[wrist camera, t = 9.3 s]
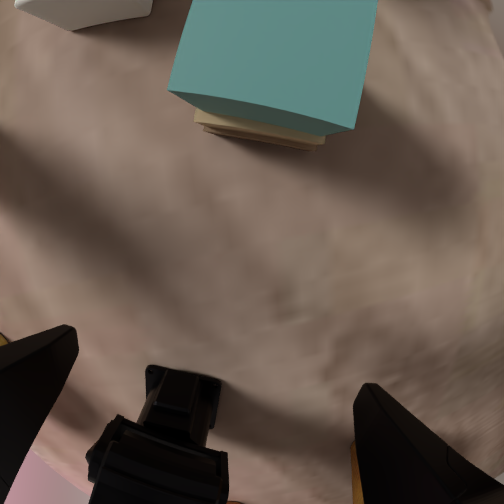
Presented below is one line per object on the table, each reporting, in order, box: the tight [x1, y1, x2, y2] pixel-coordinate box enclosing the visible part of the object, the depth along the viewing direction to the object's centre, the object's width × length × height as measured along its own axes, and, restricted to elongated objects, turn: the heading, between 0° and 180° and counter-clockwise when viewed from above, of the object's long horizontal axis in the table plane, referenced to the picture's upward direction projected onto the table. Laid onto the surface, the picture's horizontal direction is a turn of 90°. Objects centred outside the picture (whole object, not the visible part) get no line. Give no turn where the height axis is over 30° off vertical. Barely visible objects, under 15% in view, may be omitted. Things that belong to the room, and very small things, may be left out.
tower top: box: [194, 107, 326, 145], centre depth 13 cm, size 6×6×4 cm
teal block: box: [167, 0, 378, 137], centre depth 9 cm, size 5×5×5 cm
